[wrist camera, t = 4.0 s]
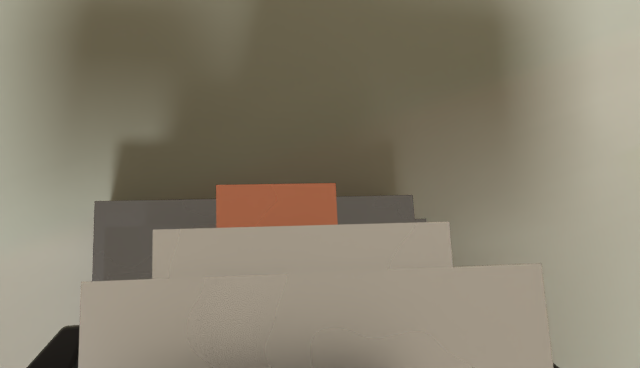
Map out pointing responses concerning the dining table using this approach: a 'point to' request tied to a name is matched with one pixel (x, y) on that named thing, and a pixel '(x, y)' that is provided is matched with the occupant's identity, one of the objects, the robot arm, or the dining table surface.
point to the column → (316, 303)
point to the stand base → (227, 219)
